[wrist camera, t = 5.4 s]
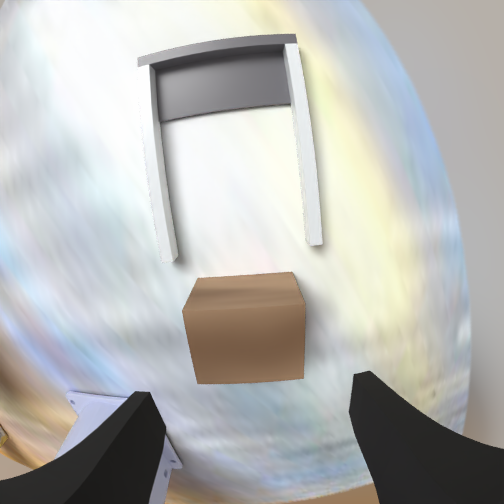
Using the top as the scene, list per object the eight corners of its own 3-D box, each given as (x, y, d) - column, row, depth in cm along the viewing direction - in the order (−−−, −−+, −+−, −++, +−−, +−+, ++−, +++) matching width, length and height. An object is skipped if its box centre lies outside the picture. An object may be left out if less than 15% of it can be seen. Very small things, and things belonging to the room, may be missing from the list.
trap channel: (316, 238, 14) (322, 244, 13) (168, 256, 15) (161, 263, 14) (292, 43, 12) (295, 33, 11) (145, 65, 12) (137, 57, 11)
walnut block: (292, 335, 16) (303, 378, 12) (207, 340, 16) (197, 383, 12) (291, 271, 15) (305, 303, 11) (198, 277, 15) (181, 311, 11)
